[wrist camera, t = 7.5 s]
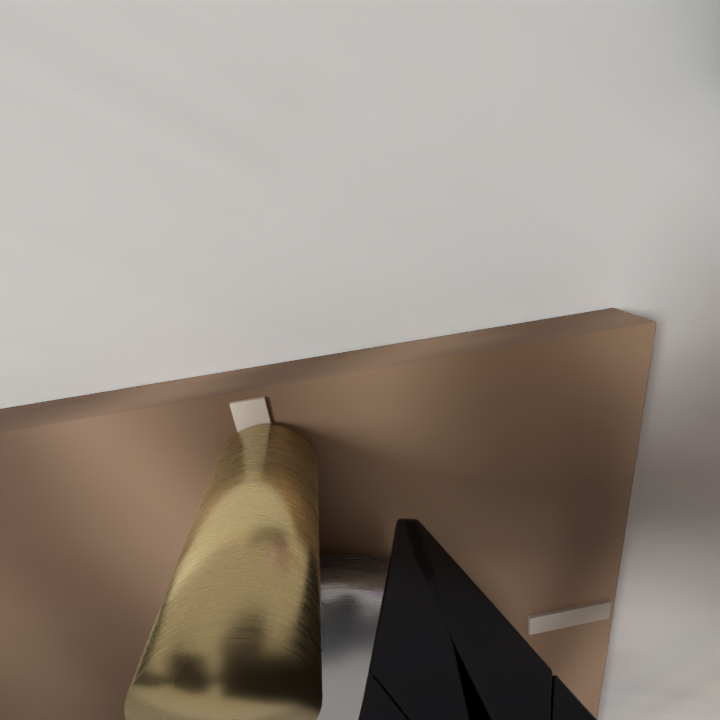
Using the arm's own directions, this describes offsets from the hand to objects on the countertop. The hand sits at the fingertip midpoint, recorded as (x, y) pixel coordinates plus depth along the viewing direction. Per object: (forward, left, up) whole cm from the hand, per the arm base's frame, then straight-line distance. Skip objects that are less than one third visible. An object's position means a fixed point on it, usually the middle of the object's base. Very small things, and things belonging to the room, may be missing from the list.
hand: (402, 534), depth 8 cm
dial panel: (-3, -7, -4) cm, 9 cm away
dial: (-3, -5, -2) cm, 6 cm away
